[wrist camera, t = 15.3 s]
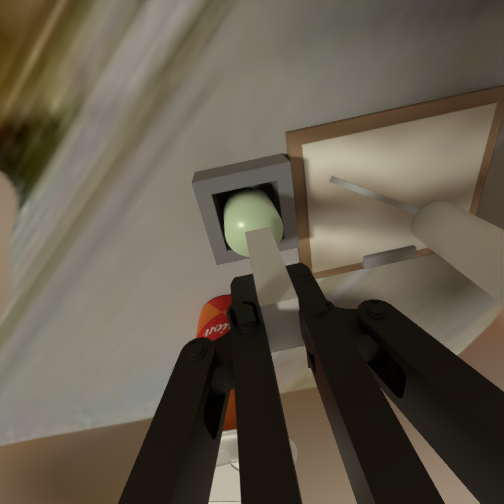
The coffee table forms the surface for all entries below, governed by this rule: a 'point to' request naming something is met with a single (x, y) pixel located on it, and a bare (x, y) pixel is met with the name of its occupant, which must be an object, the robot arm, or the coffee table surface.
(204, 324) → the coffee cup
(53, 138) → the coffee table surface
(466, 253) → the marker
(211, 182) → the button housing
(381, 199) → the drawing board
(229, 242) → the button
